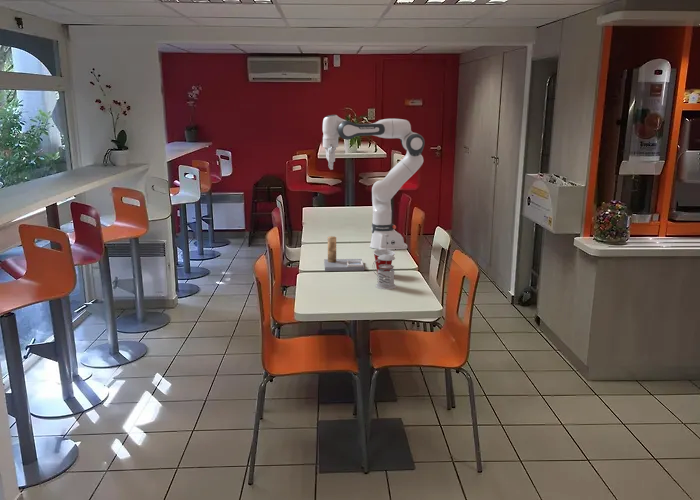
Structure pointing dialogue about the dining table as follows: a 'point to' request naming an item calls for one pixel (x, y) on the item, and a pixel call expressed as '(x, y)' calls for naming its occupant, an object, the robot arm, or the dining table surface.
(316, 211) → the dining table surface
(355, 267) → the board
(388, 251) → the plastic cup
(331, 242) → the oak column
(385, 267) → the french press
